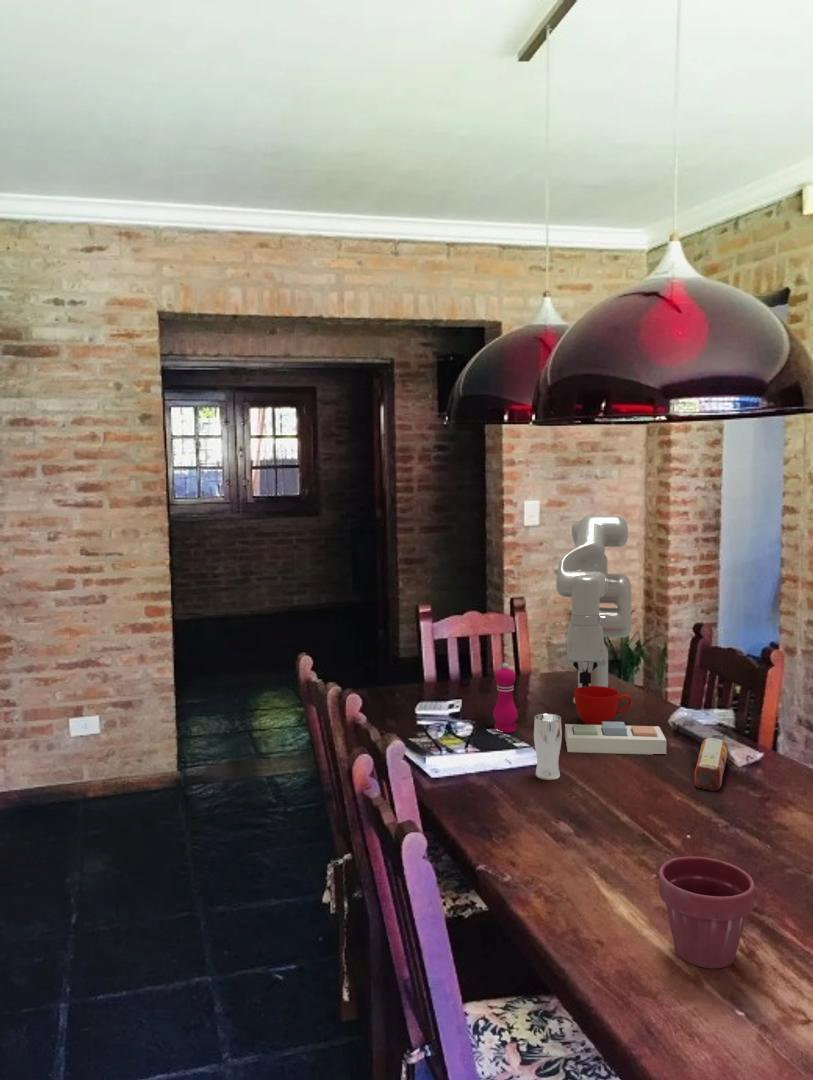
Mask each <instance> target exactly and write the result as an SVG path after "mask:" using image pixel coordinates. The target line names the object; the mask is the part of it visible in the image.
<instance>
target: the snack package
mask: <svg viewBox="0 0 813 1080" xmlns="http://www.w3.org/2000/svg"><path fill="white" fill-rule="evenodd" d="M727 753H728V754H729V747H728V744H727V743H726V741H725V740H723V739H720V738H715V737H710V738H705V739H704V740H703V741H701V745H700V750H699V754H698V758H697V763H696V767H695V770H694V785H695V786H696V788H698V789H699V788H703V789H702V790H704V789H711V790H710V791H718V790H719V789H720V788H721V786H722V784H723V783H722V782H723V775H724V771H725V767H726V762H727V759H728V756H727Z"/></svg>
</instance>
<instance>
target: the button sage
mask: <svg viewBox="0 0 813 1080" xmlns="http://www.w3.org/2000/svg"><path fill="white" fill-rule="evenodd" d="M572 724H573V723H572ZM573 735H597V731H596V728H595V725H586V724H578V725H577V724H576V723H574V724H573Z"/></svg>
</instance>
